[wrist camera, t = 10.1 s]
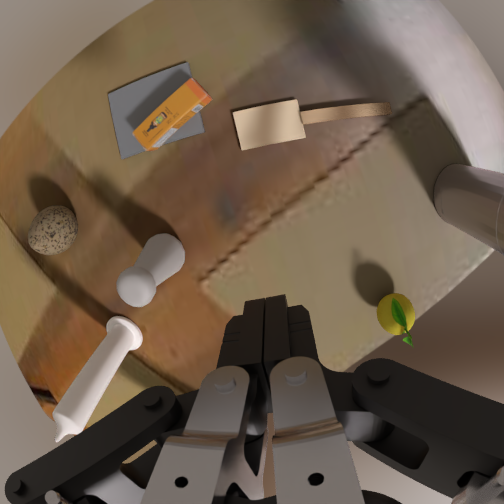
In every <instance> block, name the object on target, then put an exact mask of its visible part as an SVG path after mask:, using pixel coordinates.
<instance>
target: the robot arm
mask: <svg viewBox="0 0 504 504" xmlns="http://www.w3.org/2000/svg"><path fill="white" fill-rule="evenodd" d="M434 203H435V207H436V210H437V212H438V214H439V216H440V217H441V218H442V219H443V220H444V221H446V222H447V223H449V224H451V225H453V226H455V227H457V228H458V229H460V230H462V231H464V232H465V233H467V234H469V235H471V236H473V237H474V238H476V239H478V240H479V241H481V242H483V243H485V244H486V245H488V246H490V247H491V248H493V249H495V250H496V251H498V252H499V253H501V254H503V255H504V174H503V173H499V172H495V171H490V170H486V169H481V168H476V167H472V166H467V165H461V164H452V165H449V166H447V167H446V168H445V169H443V171H442V172H441V173H440V175H439V176H438V178H437V181H436V184H435V188H434ZM222 342H223V344H222V346H221V350H220V355H219V359H218V363H217V368H216V369H215V370H213V371H212V372H210V373H209V374H208V375H207V376H206V377H205V378H204V379H203V381H202V383H201V386H200V389H198V390H195V391H192V392H189V393H185V394H182V395H178V396H175V394H174V392H173V391H172V390H171V389H170V388H168V387H165V386H154V387H150V388H148V389H146V390H144V391H142V392H141V393H139V394H138V395H136V396H135V397H133V398H132V399H131V400H129V401H128V402H126V403H125V404H123V405H122V406H120V407H119V408H117V409H116V410H114V411H113V412H111V413H110V414H108V415H107V416H105V417H104V418H102V419H101V420H99V421H98V422H96V423H95V424H93V425H92V426H90V427H89V428H87V429H85V430H84V431H82V432H81V433H79V434H78V435H76V436H74V437H73V438H71V439H70V440H68V441H66V442H65V443H63V444H62V445H60V446H58V447H57V448H55V449H54V450H52V451H50V452H48V453H47V454H45V455H43V456H42V457H40V458H38V459H37V460H35V461H33V462H32V463H30V464H28V465H26V466H25V467H23V468H21V469H19V470H18V471H16V472H14V473H12V474H11V475H10V476H9V478H8V479H7V481H6V484H5V495H6V497H7V499H8V501H9V502H10V503H11V504H402V503H400V502H398V501H397V500H395V499H393V498H390V497H388V496H386V495H384V494H380V493H377V492H372V491H367V490H361V487H360V484H359V480H358V477H357V473H356V470H355V466H354V462H353V459H352V456H351V452H350V449H349V445H348V442H347V441H352V442H353V443H354V444H355V445H356V446H357V447H358V448H360V449H362V450H363V451H365V452H366V453H368V454H370V455H371V456H373V457H375V458H376V459H378V460H380V461H381V462H383V463H385V464H386V465H388V466H390V467H392V468H393V469H395V470H397V471H399V472H400V473H402V474H404V475H406V476H408V477H410V478H412V479H413V480H415V481H417V482H419V483H421V484H423V485H425V486H427V487H429V488H431V489H433V490H435V491H437V492H440V493H442V494H444V495H446V496H448V497H451V498H452V499H453V500H452V503H451V504H504V404H502V403H499V402H496V401H494V400H491V399H488V398H485V397H483V396H480V395H477V394H474V393H472V392H469V391H466V390H464V389H462V388H459V387H456V386H454V385H451V384H449V383H446V382H443V381H441V380H439V379H436V378H434V377H431V376H429V375H426V374H424V373H421V372H419V371H416V370H414V369H412V368H409V367H407V366H405V365H402V364H400V363H398V362H395V361H393V360H390V359H384V358H383V359H382V358H378V359H372V360H369V361H366V362H364V363H362V364H361V365H360V366H358V367H357V368H356V370H355V371H354V373H347V372H336V371H332V370H329V369H327V368H326V367H324V366H323V365H322V364H321V363H320V361H319V359H318V354H317V349H316V344H315V339H314V334H313V330H312V325H311V320H310V315H309V311H308V310H307V309H306V308H304V307H303V306H302V305H297V306H292V307H288V305H287V300H286V296H285V294H284V295H278V296H273V297H267V298H266V300H265V298H262V299H256V300H250V301H245V305H244V311H243V315H238V316H233V317H232V319H231V320H230V321H229V322H228V324H227V325H226V328H225V333H224V337H223V341H222ZM267 413H273V417H274V427H275V435H274V436H273V438H272V446H273V458H274V471H275V483H276V495H275V496H272V497H268V498H264V490H263V484H262V478H263V470H264V462H265V456H266V448H267V440H268V428H267ZM153 440H155V441H156V442H157V444H156V445H155V446H153V447H152V448H151V449H149V450H148V451H147V452H145V453H144V454H142V455H141V456H140V457H138V458H137V459H135V460H134V461H132V462H131V463H128V464H124V463H122V462H123V461H125V460H126V459H127V458H129V457H130V456H132V455H133V454H135V453H136V452H137V451H139V450H140V449H142V448H143V447H144V446H146V445H147V444H149V443H150V442H151V441H153Z"/></svg>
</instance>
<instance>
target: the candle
mask: <svg viewBox="0 0 504 504" xmlns="http://www.w3.org/2000/svg"><path fill="white" fill-rule="evenodd" d="M106 330H107V333H108V334H107V336H106V337H105V338H104V340H103V341H102V342H101V344H100V345H99V346H98V348H97V349H96V350H95V352H94V353H93V355H92V356H91V357H90V359H89V360H88V361H87V363H86V364H85V366H84V367H83V368H82V370H81V371H80V373H79V374H78V376H77V377H76V378H75V380H74V381H73V383H72V384H71V386H70V387H69V389H68V390H67V391H66V393H65V394H64V396H63V397H62V399H61V400H60V402H59V403H58V405H57V406H56V408H55V410H54V411H53V418H54V420H55V422H56V424H57V433H56V437H55V441H56V442H58V441H59V440H61V439H62V438H63V437H64V436H65V435H67V434H79V433H81V432H82V430H83V429H84V427H85V425H86V423H87V421H88V419H89V418H90V416H91V414H92V412H93V410H94V409H95V407H96V405H97V403H98V402H99V400H100V398H101V396H102V395H103V393H104V391H105V389H106V388H107V386H108V384H109V382H110V381H111V379H112V377H113V376H114V374H115V372H116V371H117V369H118V367H119V366H120V364H121V362H122V361H123V359H124V357H125V356H126V354H127V352H128V351H129V350H135V349H137V348H139V347H140V345H141V343H142V340H143V338H142V333H141V331H140V329H139V328H138V326H137V325H136V324H135V323H134V322H132V321H131V320H130V319H128V318H125V317H122V316H115V317H112V318H111V319H110V320H109V321H108V322H107V325H106Z"/></svg>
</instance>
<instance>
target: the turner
mask: <svg viewBox="0 0 504 504" xmlns="http://www.w3.org/2000/svg"><path fill="white" fill-rule="evenodd" d="M389 114H392V111H391V107H390V102H384V103H369V104H357V105H347V106H338V107H330V108H322V109H315V110H309V111H302V112H300V110H299V106H298V102H297V99H296V100H290V101H284V102H279V103H274V104H268V105H263V106H259V107H254V108H249V109H245V110H241V111H236V112H233V116H234V120H235V124H236V128H237V132H238V137H239V141H240V145H241V149H242V150H246V149H251V148H255V147H260V146H265V145H270V144H275V143H280V142H285V141H290V140H296V139H301V138H306V136H305V131H304V127H303V125H304V124H311V123H317V122H324V121H331V120H339V119H347V118H356V117H366V116H377V115H389Z"/></svg>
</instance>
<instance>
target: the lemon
mask: <svg viewBox="0 0 504 504" xmlns="http://www.w3.org/2000/svg"><path fill="white" fill-rule="evenodd" d="M377 318H378V321H379V323H380V324H381V326H382V327H383V328H384V329H385V330H386V331H387V332H389V333H391V334H395V335H401V334H403V333H406V332H407V334H408V335H409V336H408V337H405V338H404V339H403V341H405V342H406V343H409V344H410V345H411V346H413V344H412V341H411V339H412V337H411V335H410V334H409V332H408V331H409V330H410V329H411V327H412V325H413V323H414V320H415V312H414V308H413V306H412V304H411V302H410V301H409V299H408V298H406V297H405V296H404V295H402V294H398V293H393V294H389V295H387V296H385V297H383V298H382V299H381V301H380V302H379V304H378V307H377Z"/></svg>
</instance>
